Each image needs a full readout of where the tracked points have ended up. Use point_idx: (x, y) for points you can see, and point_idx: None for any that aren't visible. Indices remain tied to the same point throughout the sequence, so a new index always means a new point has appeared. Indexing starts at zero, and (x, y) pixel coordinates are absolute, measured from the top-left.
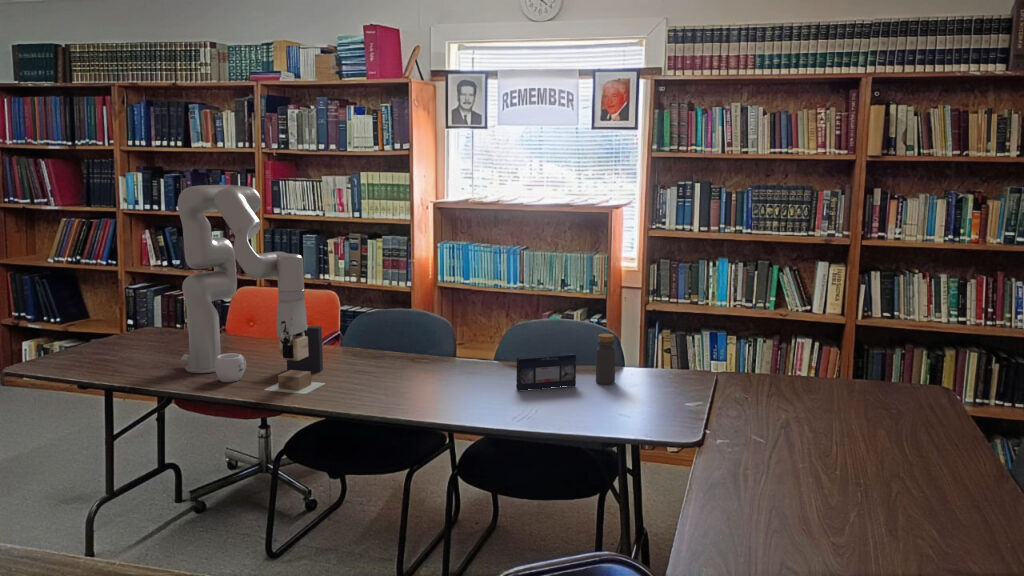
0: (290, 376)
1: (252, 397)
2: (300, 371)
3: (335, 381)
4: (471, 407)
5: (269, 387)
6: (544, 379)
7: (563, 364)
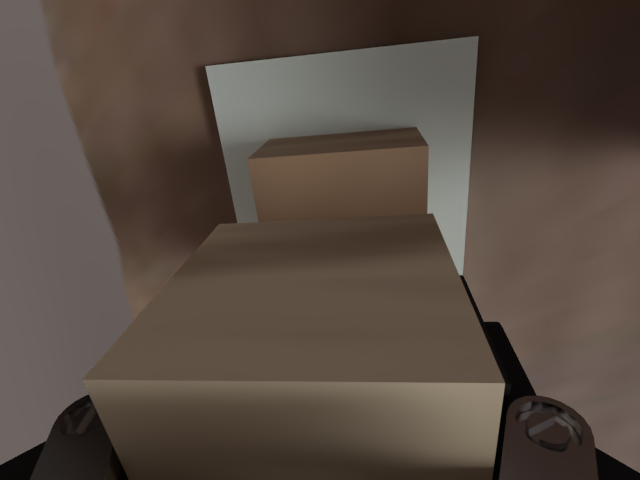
0: None
1: (98, 80)
2: None
3: (542, 314)
4: None
5: (264, 65)
6: None
7: None
